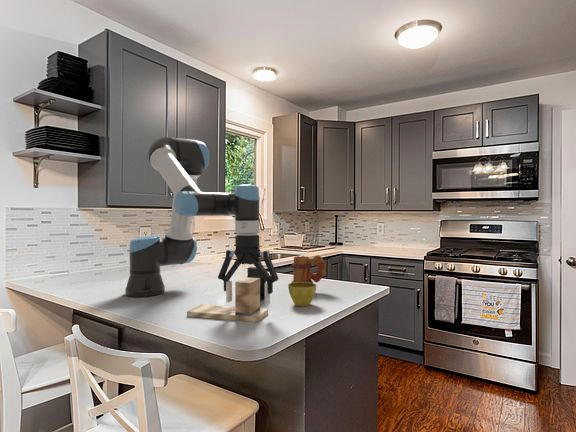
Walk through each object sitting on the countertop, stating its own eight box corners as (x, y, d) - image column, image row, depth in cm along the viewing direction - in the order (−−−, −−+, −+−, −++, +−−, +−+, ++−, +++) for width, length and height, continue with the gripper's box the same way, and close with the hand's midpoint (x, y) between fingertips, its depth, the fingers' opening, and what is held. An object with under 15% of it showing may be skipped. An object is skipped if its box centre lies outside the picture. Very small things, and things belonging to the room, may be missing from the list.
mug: (288, 291, 147) (287, 255, 147) (295, 287, 154) (294, 253, 154) (322, 294, 141) (321, 256, 141) (327, 290, 149) (327, 254, 149)
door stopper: (256, 302, 130) (256, 269, 130) (242, 300, 132) (242, 268, 132) (269, 297, 138) (268, 266, 137) (256, 295, 140) (255, 265, 140)
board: (187, 316, 113) (186, 311, 113) (201, 308, 121) (201, 304, 121) (257, 322, 106) (257, 316, 106) (267, 313, 115) (267, 309, 115)
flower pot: (312, 300, 132) (312, 281, 132) (319, 307, 122) (319, 286, 122) (286, 302, 130) (285, 282, 130) (290, 309, 120) (290, 288, 120)
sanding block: (235, 314, 108) (235, 281, 108) (245, 307, 116) (245, 277, 116) (250, 316, 107) (250, 282, 107) (259, 309, 115) (260, 278, 115)
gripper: (206, 234, 111) (207, 303, 111) (280, 235, 105) (281, 308, 105) (217, 233, 118) (218, 297, 119) (288, 234, 112) (288, 302, 112)
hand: (248, 302), depth 112 cm, fingers open, 12 cm apart
